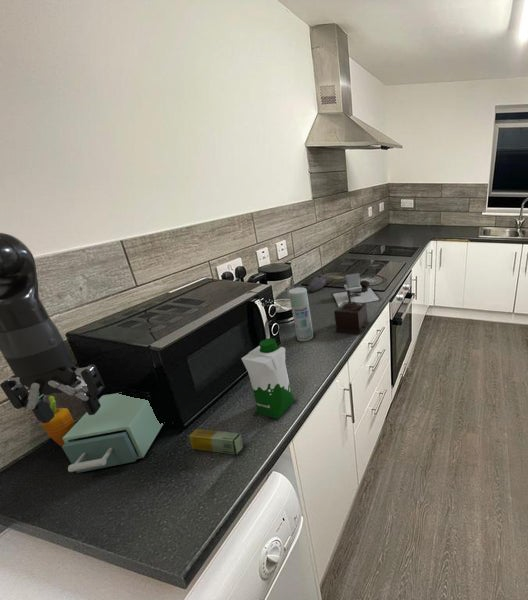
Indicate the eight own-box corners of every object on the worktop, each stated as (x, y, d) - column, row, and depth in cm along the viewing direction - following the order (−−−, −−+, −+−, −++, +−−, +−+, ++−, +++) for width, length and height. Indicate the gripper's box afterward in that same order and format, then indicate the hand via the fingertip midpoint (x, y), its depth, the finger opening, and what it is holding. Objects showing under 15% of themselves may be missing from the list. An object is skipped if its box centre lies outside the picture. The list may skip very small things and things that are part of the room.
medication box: (244, 447, 77) (241, 433, 76) (237, 455, 75) (234, 441, 74) (199, 441, 79) (196, 427, 78) (190, 449, 76) (187, 435, 75)
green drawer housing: (143, 457, 75) (128, 426, 72) (80, 470, 73) (61, 438, 69) (168, 415, 88) (157, 386, 85) (116, 424, 86) (102, 395, 82)
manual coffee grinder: (361, 334, 128) (357, 292, 121) (335, 332, 130) (330, 290, 123) (373, 317, 142) (370, 279, 135) (350, 315, 144) (346, 278, 137)
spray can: (297, 342, 123) (288, 294, 116) (296, 335, 129) (288, 288, 121) (314, 339, 125) (307, 291, 118) (313, 332, 131) (305, 286, 123)
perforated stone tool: (313, 294, 170) (311, 282, 168) (304, 293, 172) (303, 281, 170) (328, 285, 183) (327, 273, 180) (321, 284, 185) (319, 273, 182)
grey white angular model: (379, 299, 160) (378, 278, 156) (338, 306, 154) (336, 284, 150) (370, 288, 177) (368, 267, 173) (332, 293, 171) (330, 273, 166)
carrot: (67, 459, 76) (37, 409, 70) (54, 454, 77) (24, 404, 71) (92, 443, 80) (65, 395, 74) (79, 439, 81) (52, 391, 76)
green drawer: (125, 477, 69) (111, 451, 66) (62, 490, 67) (45, 463, 64) (161, 420, 85) (151, 396, 82) (111, 428, 83) (99, 405, 80)
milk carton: (298, 400, 92) (287, 340, 85) (277, 422, 84) (262, 358, 77) (274, 394, 95) (260, 335, 87) (251, 415, 87) (234, 352, 80)
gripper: (92, 330, 63) (122, 397, 70) (3, 341, 60) (43, 410, 67) (66, 349, 57) (102, 422, 63) (-37, 363, 53) (13, 437, 60)
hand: (72, 416), depth 65 cm, fingers open, 7 cm apart
